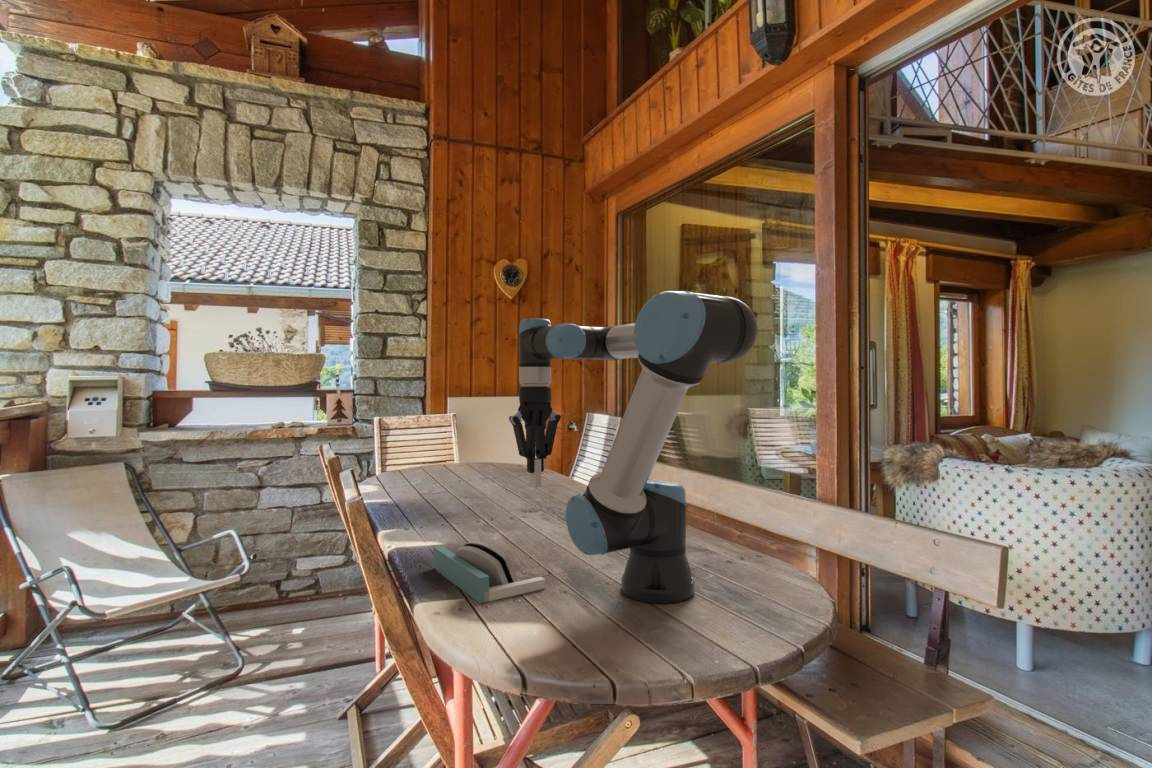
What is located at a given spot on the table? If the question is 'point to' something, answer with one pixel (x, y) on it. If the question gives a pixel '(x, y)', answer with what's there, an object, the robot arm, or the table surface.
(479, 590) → the guide bay
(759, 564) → the table surface
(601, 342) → the robot arm
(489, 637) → the table surface
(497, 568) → the grey half-round casing
